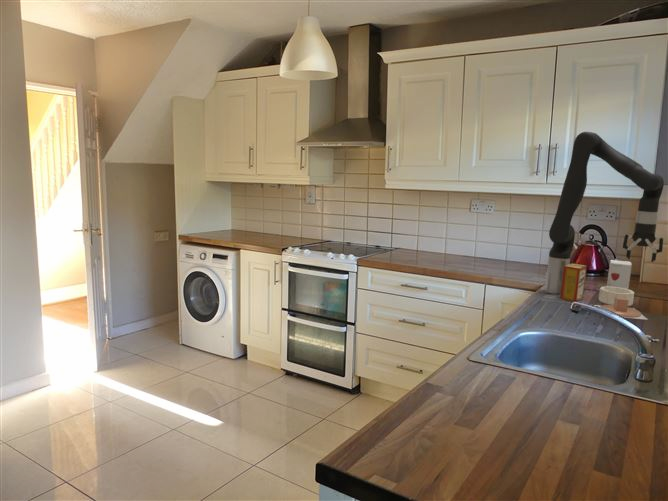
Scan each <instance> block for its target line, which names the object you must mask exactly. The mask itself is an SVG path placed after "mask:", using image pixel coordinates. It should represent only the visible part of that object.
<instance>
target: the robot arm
mask: <svg viewBox="0 0 668 501" xmlns="http://www.w3.org/2000/svg"><path fill="white" fill-rule="evenodd" d="M591 155H593V156H595V157H598V158H599V159H600V160H603V161H604V162H605V163H607V164H608V165H609V166H610V167H611V168H612V169H613V170H615V172H618V173H619V174H621V175H622V176H624V177H625V178H627V179H628V180H631V182H632V183H634V184H635V185H636V186H638V188H640V189H641V190H643V191H642V192H643V193H642V196H641V198H640V199H639V200H638V208H637V213H636V216H635V224H634V229H633V230H634V231H633V235H632V234H628V233H626V234H625V236H624V240H623V244H622V248H623V249H625V250H626V256H625V257H626V258H627V259H628V260H630V259H631V254H632V249H633V248H634V247H636V246H638V247H647V248H648V247H649V249H650V250H651V251H652V254H651V263H654V262H655V261H656V259H657V254H658V253H662V252H663V248H664V237H656V230H657V225H658V224H657V223H658V214H659V213H658V212H659V204H660V199H661V195H662V193H663V190H664V185H665V180H664V178H663V176H662V175H660V174H658V173H652V172H650V171H648V170H647V169H645V168H644V167H643V165H641V164H640V163H639V162H637V161H636V160H633V159H632V158H631V157H629V156H626V155H625V154H624V153H622V152H620V151H618V150H616V149H615V148H613V147H612V145H610V144H609V143H608V142H606V141H605V139H603V138H602V136H600V135H599V134H597V133H596V132H592V131H583V132H580V133H578V135H576V137H575V138H574V141H573V146H572V153H571V159H570V163H569V166H568V170H567V173H566V177H565V180H564V182H563V186H562V190H561V194H560V196H559V202H558V206H557V210H556V212H555V214H554V215H555V216H554V218H553V221H552V223H551V226H550V229H549V232H548V236H549V237H548V238H549V239H550V241H551V242H552V243H553V244H552V247H551V248H550V250H549V254H548V260H547V261H548V262H547V270H546V272H545V278H544V279H545V280H544V292H545V293H547V294H553V295H561V291H562V282H563V274H564V266H566V265H569V264H571V263H570V262H571V255H572V253H573V249H574V244H575V239H576V238H575V235H576V231H575V228H574V226H572V219H573V217H574V215H575V213H576V210H577V209H578V207H579V206H580V204H581V202H582V200H583V198H584V195H585V192H586V188H587V184H588V173H587V172H588V163H589V159H590V157H591ZM631 239H632V241H633V242H632V243H631V244H630V245H627V244H628V241H629V240H631ZM655 241H656V243H658V249H656V247H655V246H654V244H653V243H654V242H655Z"/></svg>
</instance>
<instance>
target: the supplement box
mask: <svg viewBox="0 0 668 501" xmlns="http://www.w3.org/2000/svg"><path fill="white" fill-rule="evenodd" d="M632 266H633V264H632V262H631V261H627V260H626V261H625V260H624V261H623V260H615V259H610V261H609V266H608V267H609V268H608V274H607V282H606V286H610V287H620V288H625V289H629V287H630V282H631V274H632Z"/></svg>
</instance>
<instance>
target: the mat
mask: <svg viewBox="0 0 668 501" xmlns="http://www.w3.org/2000/svg"><path fill="white" fill-rule="evenodd" d="M593 306H594V307H595V306H598V307H600V306H602V305H599V304H594V305H593ZM632 308H633V309H636V308H634V307H632ZM625 318H626V319H636V320H646V321H647V320H648V321H649V318H647V317H646V316H645V315H643V314H642V313H641V316H640V317H633V318H631V317H624V319H625Z"/></svg>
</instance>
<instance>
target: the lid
mask: <svg viewBox="0 0 668 501" xmlns="http://www.w3.org/2000/svg"><path fill="white" fill-rule="evenodd" d="M600 308H604V309H607V310H609V311H612V312H614V313H616V314H618V315H620V316H622V317H621V318H623V317H631V318H630V319H634V318H633V317H640V316H641V314H642V312H641V311H640V310H637V309H636V308H635V309H633V308H634V307H630V306H628V299H626V298H623V297H615V299H614V305H610V304H603V305H601V306H600Z"/></svg>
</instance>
